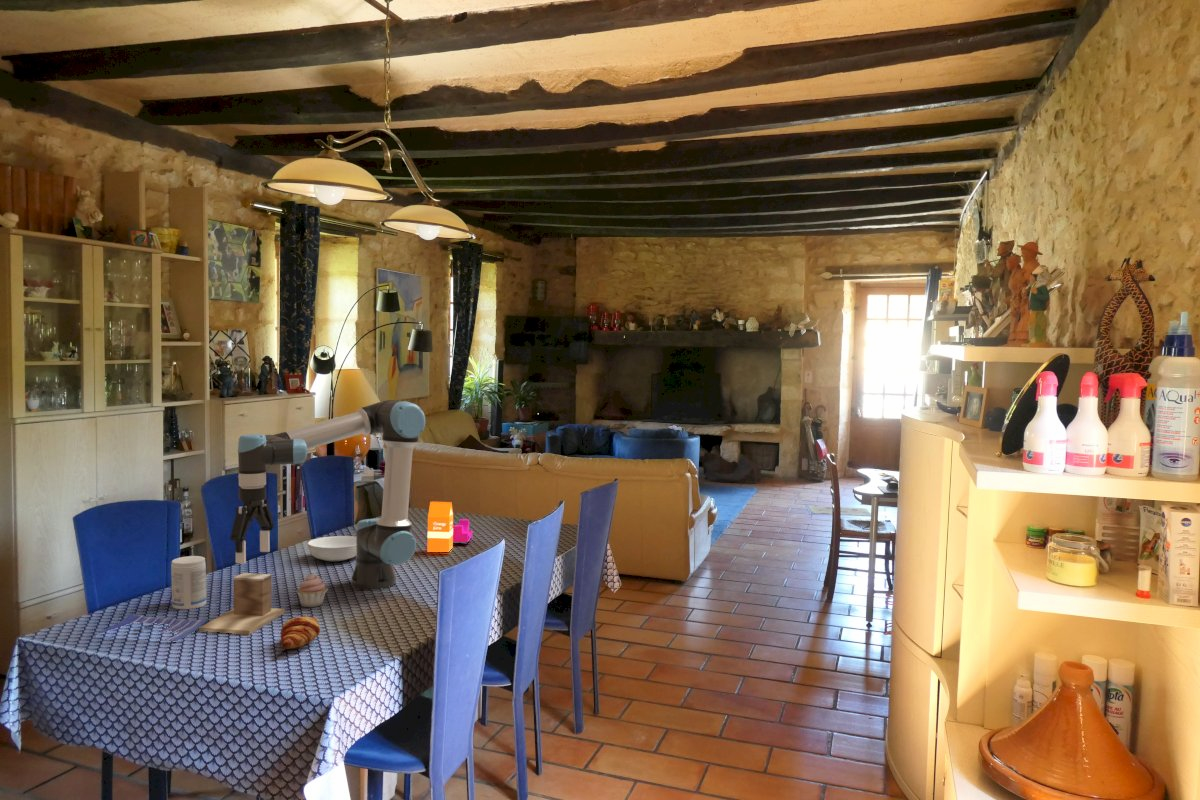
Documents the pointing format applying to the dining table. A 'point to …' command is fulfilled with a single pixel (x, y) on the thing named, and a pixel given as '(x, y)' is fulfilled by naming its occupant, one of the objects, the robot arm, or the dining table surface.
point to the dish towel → (175, 625)
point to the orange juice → (440, 527)
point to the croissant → (299, 632)
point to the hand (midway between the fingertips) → (253, 557)
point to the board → (240, 622)
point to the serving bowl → (333, 548)
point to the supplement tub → (188, 582)
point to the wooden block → (252, 594)
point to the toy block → (462, 531)
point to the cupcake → (312, 591)
